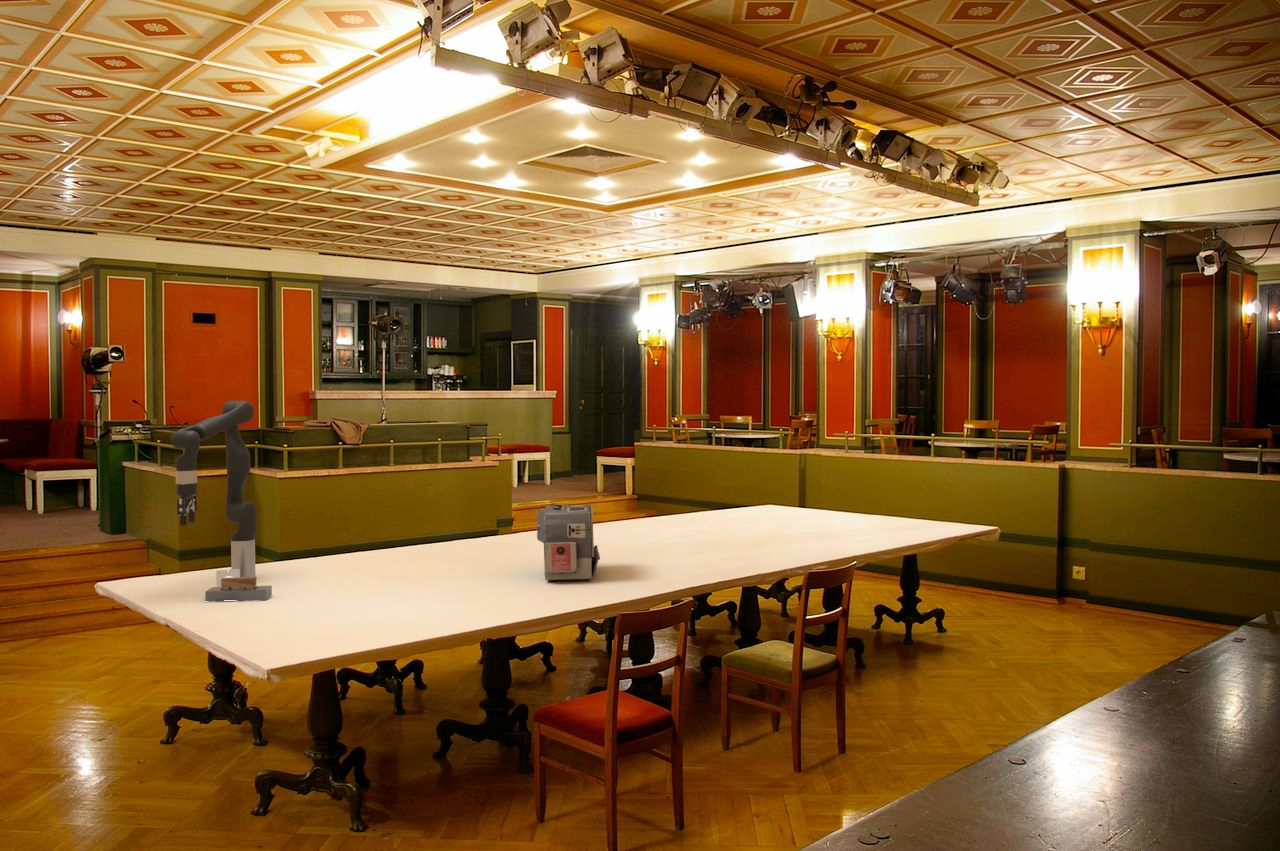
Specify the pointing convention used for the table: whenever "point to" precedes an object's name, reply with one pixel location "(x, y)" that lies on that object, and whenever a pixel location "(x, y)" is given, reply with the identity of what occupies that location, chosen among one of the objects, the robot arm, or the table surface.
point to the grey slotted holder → (238, 593)
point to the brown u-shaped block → (238, 582)
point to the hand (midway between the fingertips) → (187, 523)
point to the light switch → (226, 575)
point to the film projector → (567, 542)
